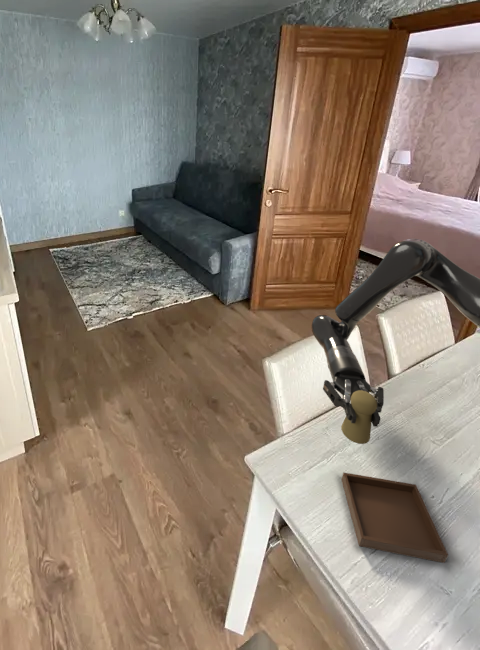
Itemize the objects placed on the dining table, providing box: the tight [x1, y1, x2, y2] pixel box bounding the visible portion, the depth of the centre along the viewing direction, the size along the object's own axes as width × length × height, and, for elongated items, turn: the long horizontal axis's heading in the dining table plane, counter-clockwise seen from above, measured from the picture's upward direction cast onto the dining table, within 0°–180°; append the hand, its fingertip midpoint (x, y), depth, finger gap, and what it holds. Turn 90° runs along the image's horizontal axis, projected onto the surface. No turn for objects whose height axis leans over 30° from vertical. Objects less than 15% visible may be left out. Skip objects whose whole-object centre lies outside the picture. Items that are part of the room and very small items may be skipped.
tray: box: [341, 472, 449, 564], centre depth 72 cm, size 15×13×2 cm
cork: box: [340, 390, 377, 445], centre depth 78 cm, size 6×6×11 cm
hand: (365, 421), depth 75 cm, fingers closed on cork, 4 cm apart
